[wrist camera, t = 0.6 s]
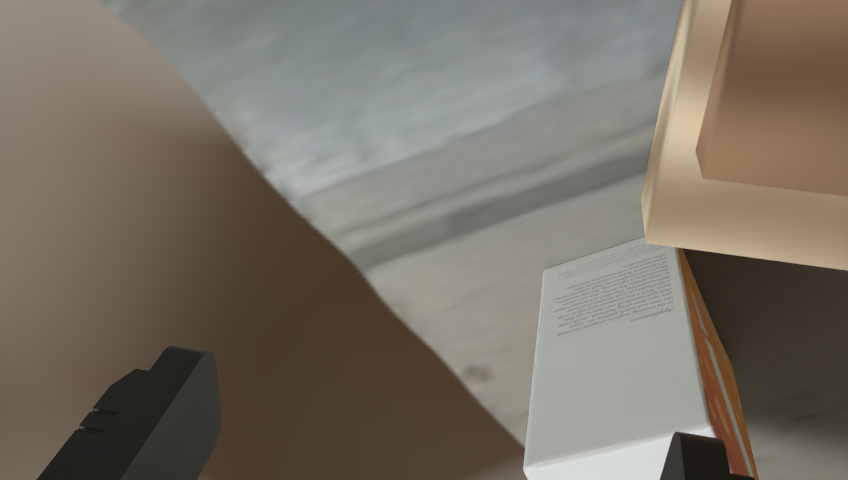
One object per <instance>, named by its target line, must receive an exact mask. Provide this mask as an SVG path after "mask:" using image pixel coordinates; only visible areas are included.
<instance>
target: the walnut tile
mask: <svg viewBox="0 0 848 480" xmlns="http://www.w3.org/2000/svg"><path fill="white" fill-rule="evenodd" d="M695 152H696V156H697V159H698V163H699V167H700V170H701V174H702V177H703V179H709V180H717V181H725V182H733V183H741V184H749V185H757V186H765V187H773V188H781V189H789V190H798V191H806V192H814V193H822V194H830V195H838V196H846V197H848V0H732V1H731V5H730V9H729V13H728V17H727V21H726V26H725V30H724V34H723V38H722V42H721V46H720V51H719V55H718V59H717V63H716V67H715V71H714V75H713V80H712V84H711V88H710V92H709V96H708V100H707V104H706V109H705V113H704V117H703V121H702V125H701V129H700V134H699V138H698V142H697V146H696V150H695Z"/></svg>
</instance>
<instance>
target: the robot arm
mask: <svg viewBox="0 0 848 480" xmlns="http://www.w3.org/2000/svg"><path fill="white" fill-rule="evenodd" d="M221 418H222V416H221V405H220V396H219V387H218V378H217V368H216V360H215V356H214V354H213V353H212V352H209V351H203V350H197V349H190V348H185V347H179V346H169V347H167V348H166V349H165V350H164V352H163V353H162V354H161V356H160V357H159V358H158V360H157V361H156V362H155V364H154V365H153V366H152V368H151V369H150V370H149V371H145V370H139V369H135V370H134V371H132V372H131V373H129V374H128V375H126V376H125V377H123V378H122V379H120V380H119V381H117V382H116V383H114V384H113V385H111V386H110V387H109V388H108V390H107V391H106V392H105V393H104V395H103V396H102V397H101V399H100V400H99V401H98V402H97V403H96V405H95V406H94V407H93V411H92V413H91V412H90V413H89V414H88V415H87V416H86V417H85V419H84V420H83V421H82V423H81V424H80V425H79V429H78V430H75V432H74V433H73V434H72V436H71V437H70V438H69V439H68V440H67V442H66V443H65V444H64V445H63V447H62V448H61V449H60V451H59V452H58V453H57V454H56V456H55V457H54V459H53V460H52V461H51V462H50V463H49V465H48V466H47V467H46V469H45V470H44V471H43V472H42V474H41V475H40V476H39V477H38V479H37V480H197V479H198V477H199V475H200V473H201V472H202V470H203V468H204V466H205V464H206V463H207V461H208V459H209V457H210V456H211V454H212V452H213V450H214V448H215V446H216V443H217V440H218V437H219V433H220V428H221ZM660 480H755V478H754V477H749V476H743V475H738V474H732V473H730V468H729V463H728V457H727V452H726V447H725V443H724V441H723V440H722V439H719V438H713V437H707V436H701V435H695V434H689V433H683V432H675V433H674V435H673V437H672V440H671V443H670V446H669V450H668V453H667V457H666V460H665V463H664V467H663V470H662V474H661V477H660Z"/></svg>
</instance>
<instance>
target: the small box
mask: <svg viewBox="0 0 848 480" xmlns="http://www.w3.org/2000/svg"><path fill="white" fill-rule="evenodd" d="M675 432H683V433H689V434H695V435H701V436H707V437H713V438H719V439H722V440H723V441H724V443H725V447H726V452H727V457H728V463H729V468H730V473H732V474H738V475H743V476H749V477H754V478H755V480H759V479H758V474H757V470H756V466H755V462H754V458H753V454H752V450H751V446H750V441H749V437H748V433H747V429H746V425H745V420H744V416H743V411H742V406H741V401H740V397H739V392H738V388H737V384H736V380H735V376H734V372H733V368H732V364H731V362H730V360H729V358H728V356H727V354H726V351H725V349H724V347H723V345H722V343H721V341H720V339H719V336H718V334H717V332H716V329H715V327H714V325H713V322H712V320H711V317H710V315H709V312H708V310H707V308H706V306H705V303H704V301H703V298H702V296H701V293H700V291H699V288H698V286H697V283H696V281H695V278H694V276H693V273H692V271H691V268H690V266H689V263H688V261H687V258H686V256H685V253H684V251H683V248H678V247H670V246H663V245H656V244H648V243H646V241H645V237H642V238H639V239H636V240H633V241H630V242H627V243H624V244H621V245H618V246H615V247H612V248H609V249H606V250H603V251H599V252H596V253H593V254H590V255H587V256H584V257H581V258H578V259H575V260H572V261H569V262H566V263H563V264H560V265H557V266H554V267H551V268H548V269H546V270H544V273H543V283H542V293H541V303H540V313H539V322H538V332H537V341H536V350H535V360H534V369H533V379H532V388H531V398H530V409H529V419H528V428H527V437H526V447H525V457H524V467H523V470H524V473H525V475H526V477H527V479H528V480H660V477H661V474H662V470H663V467H664V463H665V460H666V457H667V453H668V450H669V446H670V443H671V440H672V437H673V435H674V433H675Z"/></svg>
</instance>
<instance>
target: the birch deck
mask: <svg viewBox="0 0 848 480" xmlns="http://www.w3.org/2000/svg"><path fill="white" fill-rule="evenodd" d="M731 1H732V0H683V1H682V5H681V10H680V15H679V20H678V24H677V29H676V34H675V39H674V43H673V48H672V53H671V57H670V62H669V67H668V72H667V76H666V81H665V86H664V91H663V95H662V100H661V105H660V110H659V114H658V119H657V124H656V129H655V133H654V138H653V143H652V148H651V152H650V157H649V162H648V167H647V171H646V176H645V181H644V186H643V190H642V195H641V204H642V213H643V222H644V232H645V241H646V243H648V244H656V245H663V246H670V247H678V248H685V249H692V250H700V251H707V252H715V253H722V254H729V255H737V256H744V257H751V258H759V259H766V260H774V261H781V262H788V263H796V264H803V265H810V266H818V267H825V268H833V269H840V270H847V271H848V197H846V196H838V195H830V194H822V193H814V192H806V191H798V190H789V189H781V188H773V187H765V186H757V185H749V184H741V183H733V182H725V181H717V180H709V179H703V177H702V174H701V170H700V167H699V163H698V159H697V156H696V152H695V150H696V146H697V142H698V138H699V134H700V129H701V125H702V121H703V117H704V113H705V109H706V104H707V100H708V96H709V92H710V88H711V84H712V80H713V75H714V71H715V67H716V63H717V59H718V55H719V51H720V46H721V42H722V38H723V34H724V30H725V26H726V21H727V17H728V13H729V9H730V5H731Z"/></svg>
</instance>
